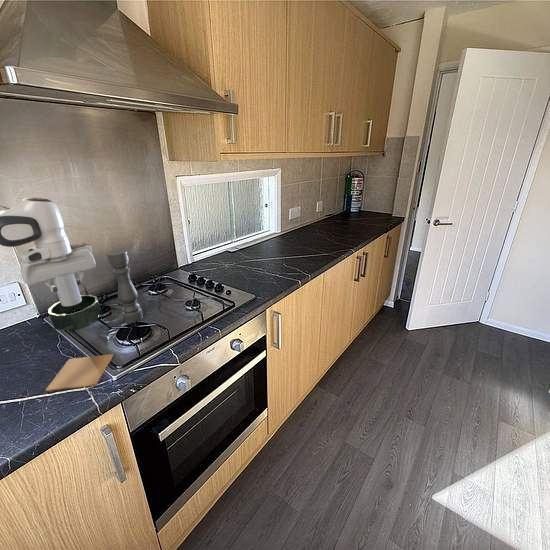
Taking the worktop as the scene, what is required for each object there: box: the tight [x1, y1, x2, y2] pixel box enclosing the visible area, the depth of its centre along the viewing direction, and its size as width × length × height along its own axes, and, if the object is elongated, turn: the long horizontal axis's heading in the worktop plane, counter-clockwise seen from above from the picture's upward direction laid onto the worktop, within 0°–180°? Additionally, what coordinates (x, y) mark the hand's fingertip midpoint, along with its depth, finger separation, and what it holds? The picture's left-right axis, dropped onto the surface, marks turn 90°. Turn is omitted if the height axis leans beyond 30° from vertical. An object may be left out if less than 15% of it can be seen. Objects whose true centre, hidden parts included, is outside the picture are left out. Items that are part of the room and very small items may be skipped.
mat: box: [45, 353, 114, 392], centre depth 79 cm, size 12×12×1 cm
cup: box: [52, 273, 82, 306], centre depth 100 cm, size 6×6×11 cm
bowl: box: [47, 294, 102, 331], centre depth 104 cm, size 15×15×6 cm
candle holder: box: [106, 249, 144, 325], centre depth 99 cm, size 6×6×25 cm
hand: (67, 287), depth 100 cm, fingers closed on cup, 6 cm apart
